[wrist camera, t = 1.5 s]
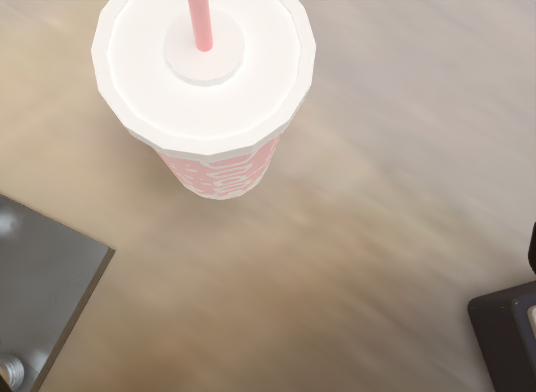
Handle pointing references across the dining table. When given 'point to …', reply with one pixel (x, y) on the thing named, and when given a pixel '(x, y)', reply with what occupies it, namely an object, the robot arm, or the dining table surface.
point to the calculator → (508, 336)
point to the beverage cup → (206, 82)
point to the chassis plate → (41, 290)
